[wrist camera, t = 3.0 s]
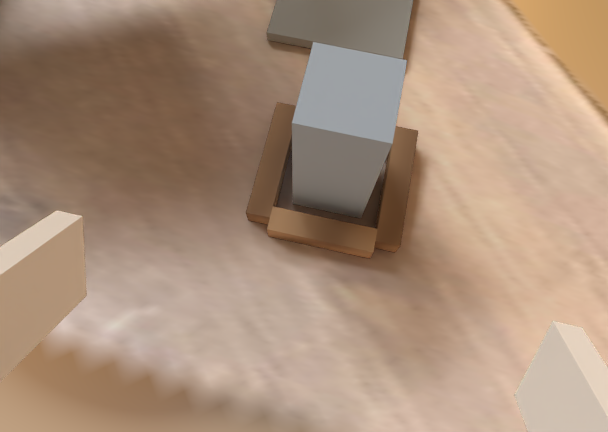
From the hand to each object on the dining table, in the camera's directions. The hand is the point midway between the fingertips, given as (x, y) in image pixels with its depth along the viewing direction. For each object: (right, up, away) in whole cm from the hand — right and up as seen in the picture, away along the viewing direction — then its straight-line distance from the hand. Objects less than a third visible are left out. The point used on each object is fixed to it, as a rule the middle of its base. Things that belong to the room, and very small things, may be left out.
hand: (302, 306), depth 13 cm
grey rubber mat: (+3, +19, +22) cm, 30 cm away
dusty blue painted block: (+2, +5, +17) cm, 18 cm away
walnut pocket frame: (+2, +5, +17) cm, 18 cm away
